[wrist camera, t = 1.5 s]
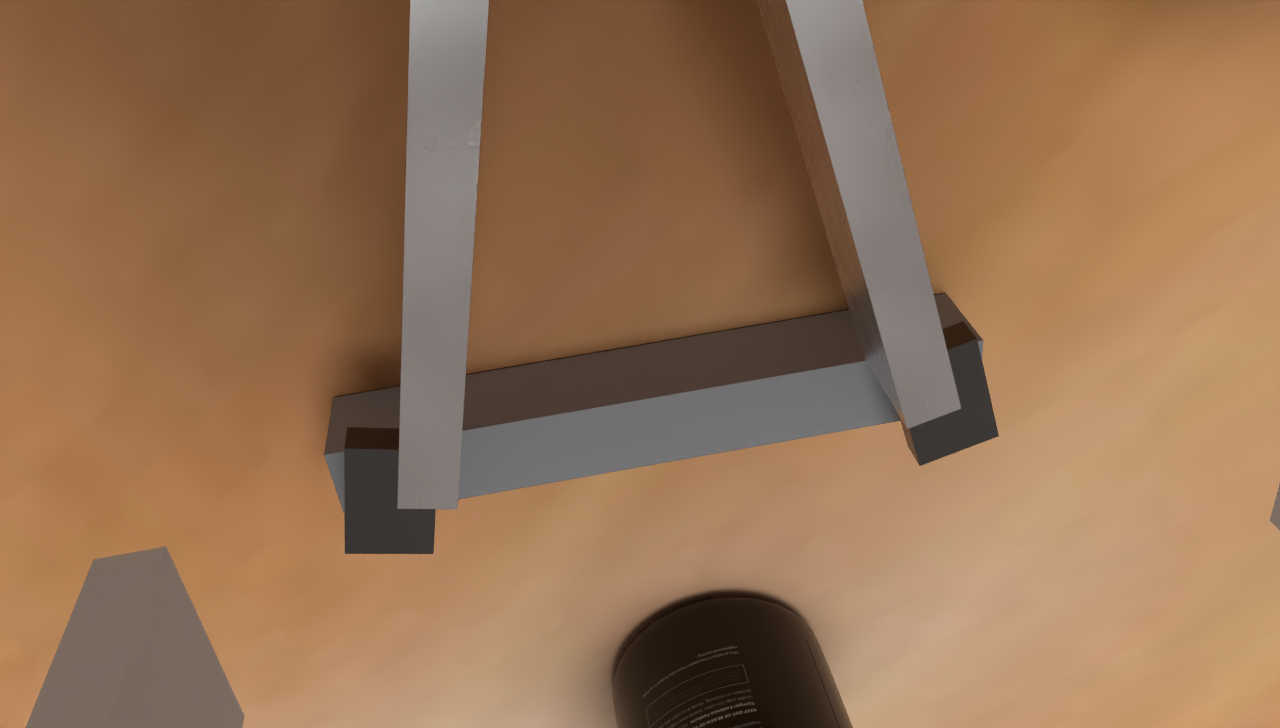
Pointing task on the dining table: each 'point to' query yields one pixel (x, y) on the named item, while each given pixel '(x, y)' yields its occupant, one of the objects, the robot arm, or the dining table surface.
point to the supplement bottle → (727, 671)
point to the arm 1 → (427, 292)
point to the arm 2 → (875, 225)
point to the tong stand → (649, 403)
